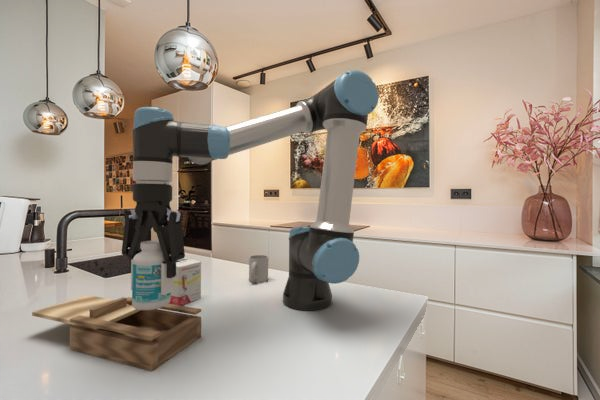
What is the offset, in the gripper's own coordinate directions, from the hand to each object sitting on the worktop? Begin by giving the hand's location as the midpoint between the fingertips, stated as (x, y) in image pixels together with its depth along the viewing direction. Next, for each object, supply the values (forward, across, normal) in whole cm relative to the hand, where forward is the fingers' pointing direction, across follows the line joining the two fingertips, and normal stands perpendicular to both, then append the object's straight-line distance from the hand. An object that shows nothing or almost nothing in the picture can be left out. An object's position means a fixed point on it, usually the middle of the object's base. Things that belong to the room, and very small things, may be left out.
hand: (152, 290), depth 63 cm
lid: (+7, +19, 0) cm, 20 cm away
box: (+12, +4, 0) cm, 13 cm away
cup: (+12, +1, -50) cm, 52 cm away
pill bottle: (+3, 0, 0) cm, 3 cm away
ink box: (+12, +12, -24) cm, 30 cm away
